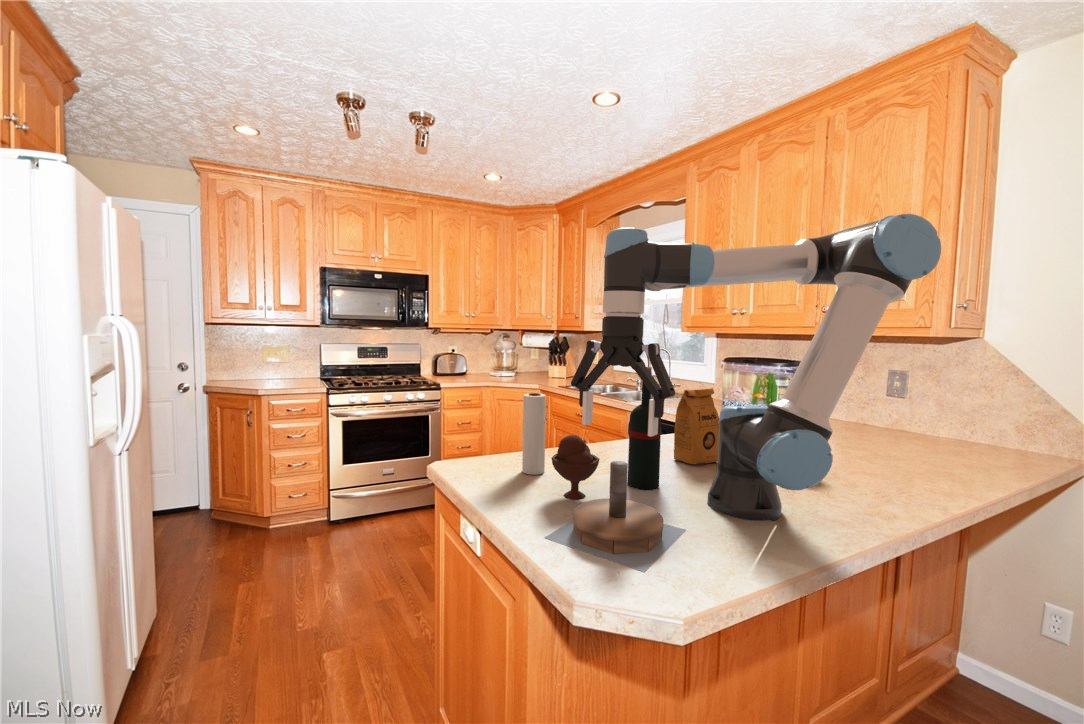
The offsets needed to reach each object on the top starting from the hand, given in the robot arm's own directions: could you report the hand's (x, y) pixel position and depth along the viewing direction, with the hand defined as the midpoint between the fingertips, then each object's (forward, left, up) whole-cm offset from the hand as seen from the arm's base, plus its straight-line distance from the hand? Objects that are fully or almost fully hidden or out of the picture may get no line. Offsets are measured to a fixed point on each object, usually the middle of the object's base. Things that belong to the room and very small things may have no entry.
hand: (618, 429), depth 88 cm
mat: (0, 0, -21) cm, 21 cm away
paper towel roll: (+36, -22, -21) cm, 47 cm away
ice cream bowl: (+17, -12, -21) cm, 29 cm away
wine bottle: (+9, -31, -21) cm, 39 cm away
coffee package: (+4, -60, -21) cm, 64 cm away
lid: (0, 0, -20) cm, 20 cm away
